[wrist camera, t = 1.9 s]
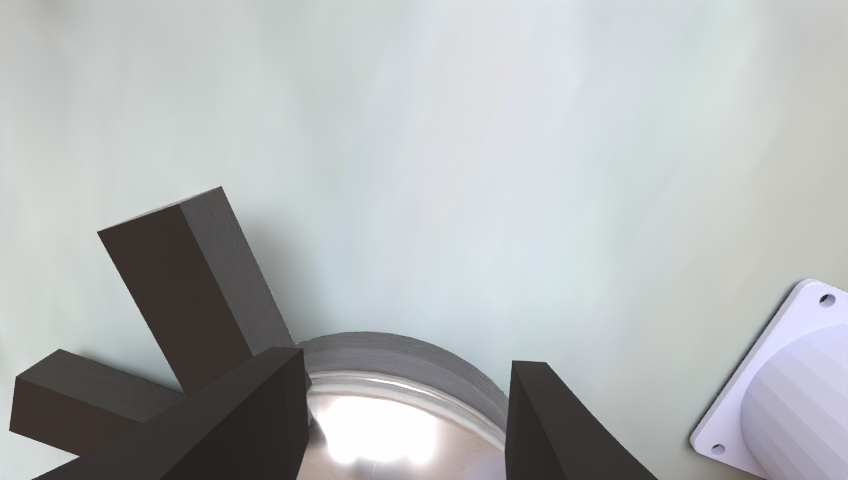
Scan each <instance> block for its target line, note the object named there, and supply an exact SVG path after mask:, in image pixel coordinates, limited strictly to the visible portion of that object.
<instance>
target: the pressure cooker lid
mask: <svg viewBox="0 0 848 480" xmlns="http://www.w3.org/2000/svg"><path fill="white" fill-rule="evenodd" d="M97 233H98V235H99V237H100V239H101V241H102V243H103V244H104V246H105V248H106V250H107V252H108V253H109V255H110V257H111V259H112V261H113V263H114V264H115V266H116V268H117V270H118V272H119V274H120V275H121V277H122V279H123V281H124V283H125V284H126V286H127V288H128V290H129V292H130V294H131V295H132V297H133V299H134V301H135V303H136V305H137V306H138V308H139V310H140V312H141V314H142V315H143V317H144V319H145V321H146V323H147V325H148V326H149V328H150V330H151V332H152V334H153V336H154V337H155V339H156V341H157V343H158V345H159V346H160V348H161V350H162V352H163V354H164V356H165V357H166V359H167V361H168V363H169V365H170V367H171V368H172V370H173V372H174V374H175V376H176V377H177V379H178V381H179V383H180V385H181V387H182V388H183V390H184V392H185V394H186V396H187V397H189V396H191V395H192V394H194V393H196V392H197V391H199V390H201V389H202V388H204V387H205V386H207V385H209V384H210V383H212V382H214V381H215V380H217V379H218V378H220V377H222V376H223V375H225V374H226V373H228V372H230V371H231V370H233V369H234V368H236V367H238V366H239V365H241V364H243V363H244V362H246V361H247V360H249V359H251V358H252V357H254V356H256V355H257V354H259V353H261V352H263V351H265V350H267V349H268V348H270V347H288V348H296V347H295V345H294V342H293V340H292V338H291V336H290V334H289V332H288V329H287V327H286V325H285V323H284V321H283V319H282V316H281V314H280V312H279V310H278V308H277V306H276V303H275V301H274V299H273V297H272V295H271V293H270V290H269V288H268V286H267V284H266V282H265V280H264V277H263V275H262V273H261V271H260V269H259V267H258V264H257V262H256V260H255V258H254V256H253V254H252V251H251V249H250V247H249V245H248V243H247V241H246V238H245V236H244V234H243V232H242V230H241V228H240V225H239V223H238V221H237V219H236V217H235V215H234V212H233V210H232V208H231V206H230V204H229V202H228V199H227V197H226V195H225V193H224V191H223V189H222V186H220V187H218V188H215V189H212V190H209V191H206V192H203V193H200V194H198V195H195V196H192V197H189V198H186V199H183V200H180V201H178V202H175V203H172V204H169V205H166V206H163V207H160V208H158V209H155V210H152V211H149V212H147V213H144V214H141V215H139V216H136V217H134V218H131V219H129V220H126V221H124V222H121V223H119V224H116V225H113V226H111V227H108V228H106V229H103V230H101V231H98V232H97ZM305 381H306V396H307V412H308V427H309V441H308V444H307V447H306V451H305V454H304V457H303V460H302V464H301V467H300V470H299V473H298V476H297V479H296V480H506V469H505V453H504V451H505V440H504V439H503V438H502V437H501V436H499V435H498V434H497V433H496V432H495V431H494V430H492V429H491V428H489V427H488V426H487V425H485V424H484V423H482V422H481V421H479V420H478V419H477V418H475V417H474V416H472V415H470V414H469V413H467V412H465V411H463V410H461V409H459V408H458V407H456V406H454V405H452V404H450V403H448V402H446V401H443V400H441V399H438V398H436V397H433V396H431V395H428V394H426V393H423V392H421V391H417V390H414V389H410V388H406V387H403V386H399V385H396V384H392V383H385V382H379V381H372V380H366V379H349V378H326V379H313V380H311V379H310V377H309V375H308V373H307V371H306V368H305Z"/></svg>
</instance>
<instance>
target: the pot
mask: <svg viewBox="0 0 848 480" xmlns="http://www.w3.org/2000/svg"><path fill="white" fill-rule="evenodd" d="M295 347H296V348H303V349H304V365H305V368H306V371H307V373H308V375H309V377H310V379H311V380H313V379H326V378H349V379H366V380H372V381H379V382H385V383H392V384H396V385H399V386H403V387H406V388H410V389H414V390H417V391H421V392H423V393H426V394H428V395H431V396H433V397H436V398H438V399H441V400H443V401H446V402H448V403H450V404H452V405H454V406H456V407H458V408H459V409H461V410H463V411H465V412H467V413H469V414H470V415H472V416H474V417H475V418H477V419H478V420H479V421H481V422H482V423H484V424H485V425H487V426H488V427H489V428H491V429H492V430H494V431H495V432H496V433H497V434H498V435H499V436H501V437H502V438H503V439H504V440H506V428H507V416H508V405H509V399H508V398H507V397H506V395H505V394H504V393H503V392H502V391H501V390H500V389H499V388H498V387H497V386H496V385H495V384H494V383H493V382H492V381H491V380H490V379H489V378H488V377H487V376H486V375H484V374H483V373H482V372H480V371H479V370H478V369H477V368H475V367H474V366H473V365H471V364H470V363H468V362H466V361H465V360H463V359H461V358H460V357H458V356H456V355H455V354H453V353H451V352H449V351H446V350H444V349H442V348H440V347H437V346H435V345H433V344H430V343H427V342H424V341H420V340H417V339H414V338H411V337H406V336H400V335H395V334H390V333H378V332H346V333H339V334H333V335H327V336H322V337H318V338H315V339H312V340H308V341H305V342H302V343H300V344H298V345H295ZM186 398H187V396H186V395H184V394H181V393H178V392H175V391H173V390H170V389H167V388H165V387H162V386H159V385H157V384H154V383H151V382H148V381H146V380H143V379H140V378H138V377H135V376H132V375H129V374H127V373H124V372H121V371H119V370H116V369H113V368H111V367H108V366H105V365H102V364H100V363H97V362H94V361H92V360H89V359H86V358H83V357H81V356H78V355H75V354H73V353H70V352H67V351H65V350H62V349H58V350H57V351H55V352H54V353H52V354H50V355H49V356H47V357H46V358H44V359H43V360H41V361H40V362H38V363H37V364H35V365H33V366H32V367H30V368H29V369H27V370H26V371H24V372H23V373H21V374H19V375H18V376H16V380H15V388H14V396H13V404H12V412H11V420H10V428H9V431H11V432H14V433H17V434H20V435H22V436H25V437H28V438H31V439H33V440H36V441H39V442H42V443H44V444H47V445H50V446H53V447H56V448H58V449H61V450H64V451H67V452H69V453H72V454H75V455H78V456H82V455H84V454H86V453H88V452H90V451H92V450H94V449H96V448H98V447H100V446H102V445H104V444H106V443H108V442H110V441H112V440H113V439H115V438H117V437H119V436H121V435H123V434H124V433H126V432H128V431H130V430H132V429H133V428H135V427H137V426H139V425H140V424H142V423H144V422H146V421H147V420H149V419H151V418H153V417H155V416H156V415H158V414H160V413H162V412H163V411H165V410H167V409H169V408H170V407H172V406H174V405H176V404H178V403H179V402H181V401H183V400H184V399H186Z"/></svg>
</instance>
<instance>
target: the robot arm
mask: <svg viewBox="0 0 848 480" xmlns="http://www.w3.org/2000/svg"><path fill="white" fill-rule="evenodd" d="M826 294H827V295H828V296H827V298H826V299H825V300H824V301H823V302H820V303H819V301H820V298H821V297H822V296H824V295H826ZM308 441H309V427H308V412H307V396H306V381H305V365H304V349H303V348H288V347H270V348H268V349H267V350H265V351H263V352H261V353H259V354H257V355H256V356H254V357H252V358H251V359H249V360H247V361H246V362H244V363H243V364H241V365H239V366H238V367H236V368H234V369H233V370H231V371H230V372H228V373H226V374H225V375H223V376H222V377H220V378H218V379H217V380H215V381H214V382H212V383H210V384H209V385H207V386H205V387H204V388H202V389H201V390H199V391H197V392H196V393H194V394H192V395H191V396H189V397H187V398H186V399H184V400H183V401H181V402H179V403H178V404H176V405H174V406H172V407H170V408H169V409H167V410H165V411H163V412H162V413H160V414H158V415H156V416H155V417H153V418H151V419H149V420H147V421H146V422H144V423H142V424H140V425H139V426H137V427H135V428H133V429H132V430H130V431H128V432H126V433H124V434H123V435H121V436H119V437H117V438H115V439H113V440H112V441H110V442H108V443H106V444H104V445H102V446H100V447H98V448H96V449H94V450H92V451H90V452H88V453H86V454H84V455H82V456H80V457H78V458H76V459H74V460H72V461H70V462H68V463H66V464H64V465H62V466H59V467H57V468H55V469H53V470H51V471H49V472H47V473H45V474H43V475H41V476H38V477H36V478H34V479H32V480H296V479H297V476H298V473H299V470H300V467H301V464H302V460H303V457H304V454H305V451H306V447H307V444H308ZM690 443H691V445H692V447H693V448H694V450H695V451H696V452H697V453H699V454H701V455H704V456H707V457H709V458H712V459H714V460H717V461H720V462H722V463H725V464H727V465H730V466H733V467H735V468H738V469H741V470H743V471H746V472H748V473H751V474H754V475H756V476H759V477H761V478H764V479H767V480H848V292H846V291H843V290H841V289H838V288H836V287H833V286H831V285H828V284H826V283H823V282H821V281H818V280H815V279H806V280H803V281H801V282H799V283H798V284H797V286H796V287H795V288H794V289H793V291H792V292H791V294H790V295H789V296H788V298H787V299H786V301H785V302H784V304H783V305H782V306H781V308H780V309H779V311H778V312H777V314H776V315H775V316H774V318H773V319H772V321H771V322H770V324H769V325H768V326H767V328H766V329H765V331H764V332H763V334H762V335H761V336H760V338H759V339H758V341H757V342H756V343H755V345H754V346H753V348H752V349H751V351H750V352H749V353H748V355H747V356H746V358H745V359H744V361H743V362H742V363H741V365H740V366H739V368H738V369H737V371H736V372H735V373H734V375H733V376H732V378H731V379H730V381H729V382H728V383H727V385H726V386H725V388H724V389H723V391H722V392H721V393H720V395H719V396H718V398H717V399H716V401H715V402H714V403H713V405H712V406H711V408H710V409H709V411H708V412H707V413H706V415H705V416H704V418H703V419H702V421H701V422H700V423H699V425H698V426H697V428H696V429H695V430H694V432H693V433H692V435H691V437H690ZM717 444H720V445H719V446H718V447H715V448H712V447H713V446H714V445H717ZM504 453H505V469H506V480H658V479H657V478H656V477H655V476H654V475H653V474H652V473H651V472H649V471H648V470H647V469H646V468H645V467H644V466H643V465H642V464H641V463H640V462H639V461H638V460H637V459H636V458H634V457H633V456H632V455H631V454H630V453H629V452H628V451H627V450H626V449H625V448H624V447H623V446H622V445H621V444H620V443H619V442H618V441H617V440H616V439H615V438H614V437H613V436H612V435H611V434H610V433H609V432H608V431H607V430H606V429H605V428H604V426H603V425H602V424H601V423H600V422H599V421H598V420H597V419H596V418H595V417H594V416H593V415H592V414H591V413H590V412H589V410H588V409H587V408H586V407H585V406H584V405H583V404H582V403H581V402H580V400H579V399H578V398H577V397H576V396H575V395H574V394H573V392H572V391H571V390H570V389H569V388H568V387H567V386H566V384H565V383H564V382H563V381H562V380H561V379H560V378H559V376H558V375H557V374H556V373H555V372H554V371H553V370H552V369H551V367H550V366H549V365H548V364H547V363H546V362H531V361H514V360H512V370H511V381H510V393H509V405H508V416H507V428H506V440H505V451H504Z"/></svg>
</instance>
